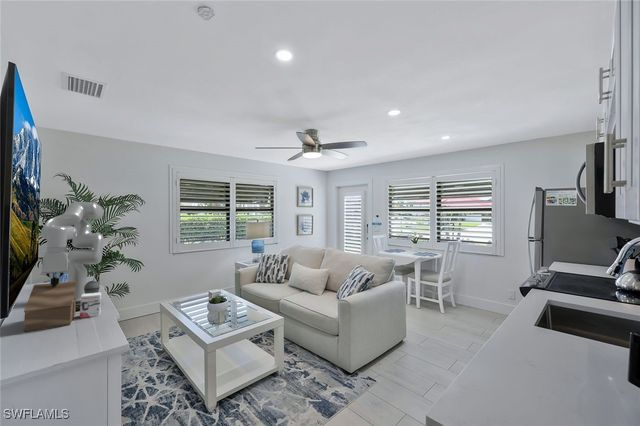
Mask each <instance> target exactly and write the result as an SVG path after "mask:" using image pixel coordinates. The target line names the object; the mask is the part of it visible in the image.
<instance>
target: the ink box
mask: <svg viewBox="0 0 640 426" xmlns="http://www.w3.org/2000/svg"><path fill="white" fill-rule="evenodd" d="M79 303H80V304H79V305H80V306H79V319H85V318H93V317H99V316H100V315H101V310H102V309H101V308H102V292H101V291H100V292H99V291H98V293H88V294H82V295H81V301H79Z"/></svg>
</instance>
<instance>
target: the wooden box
mask: <svg viewBox="0 0 640 426" xmlns="http://www.w3.org/2000/svg"><path fill="white" fill-rule="evenodd" d="M76 303H77V302H76V298H73V301H72V305H71V307H66V308H58V309H49V310H41V311H32V312H24V320H23V321H24V323H23V324H24V326H23V332H33V331H39V330H47V329H53V328H61V327H66V326H71V323H72V321H73V319H74V317H75V315H76V305H77V304H76Z"/></svg>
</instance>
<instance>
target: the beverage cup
mask: <svg viewBox="0 0 640 426" xmlns="http://www.w3.org/2000/svg"><path fill="white" fill-rule="evenodd" d="M95 279H96V273H94V275H93V280H90V281H87V283H86V285H85V287H84V291H85V294H88V293H98V292H99V291H100V283H99V282H98V281H96V280H95Z"/></svg>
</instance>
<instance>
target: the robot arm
mask: <svg viewBox="0 0 640 426" xmlns="http://www.w3.org/2000/svg"><path fill="white" fill-rule="evenodd" d="M103 216H104V209H103V207H102V206H101V205H100V204H98V203H96V202H91V201H73V202H71V203H70V204H69V205H68V207H67V208H66V210H65V211H64V213H62V214H59V215H57V216H55V217H52V218H49V219H48V220H47V221H46V222H45V224H44V225H43V227H42V228H41V231H40V235H41V236H40V237H41V238H42V239H44V240H46V252H44V255H43V256H42V257H43V258H42V263H41V273H40V275H41V276H47V277H48V278H49V279H50V283H51V285H52V286H57V284H59V283H60V278H61V277H62V276H64V275H66V274H67V281H66V282H74V281H77V283H76V288H75V292H74V296H73V298H76V303H77V302H81V295H82V294H85V291H84V287H85V285H86V283H88V270H87V268H86V266H84V265H97V264H98V265H99V263H101V262H102V260H103V259H102V257H103V253H104V252H103V250H104V244H105V240H104V236H103V234H101V233H99V232H97V233H96V232H92V225H91V224H90V222H89V221H88V220H100V219H102V218H103ZM69 240H72V242H71V243H72V247H73V248H78V249H72V250H71V247H68V244H67V243H68V241H69ZM87 248H88V249H87ZM89 248H90V249H89ZM92 248H93V249H92ZM55 273H56V276H55Z"/></svg>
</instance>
